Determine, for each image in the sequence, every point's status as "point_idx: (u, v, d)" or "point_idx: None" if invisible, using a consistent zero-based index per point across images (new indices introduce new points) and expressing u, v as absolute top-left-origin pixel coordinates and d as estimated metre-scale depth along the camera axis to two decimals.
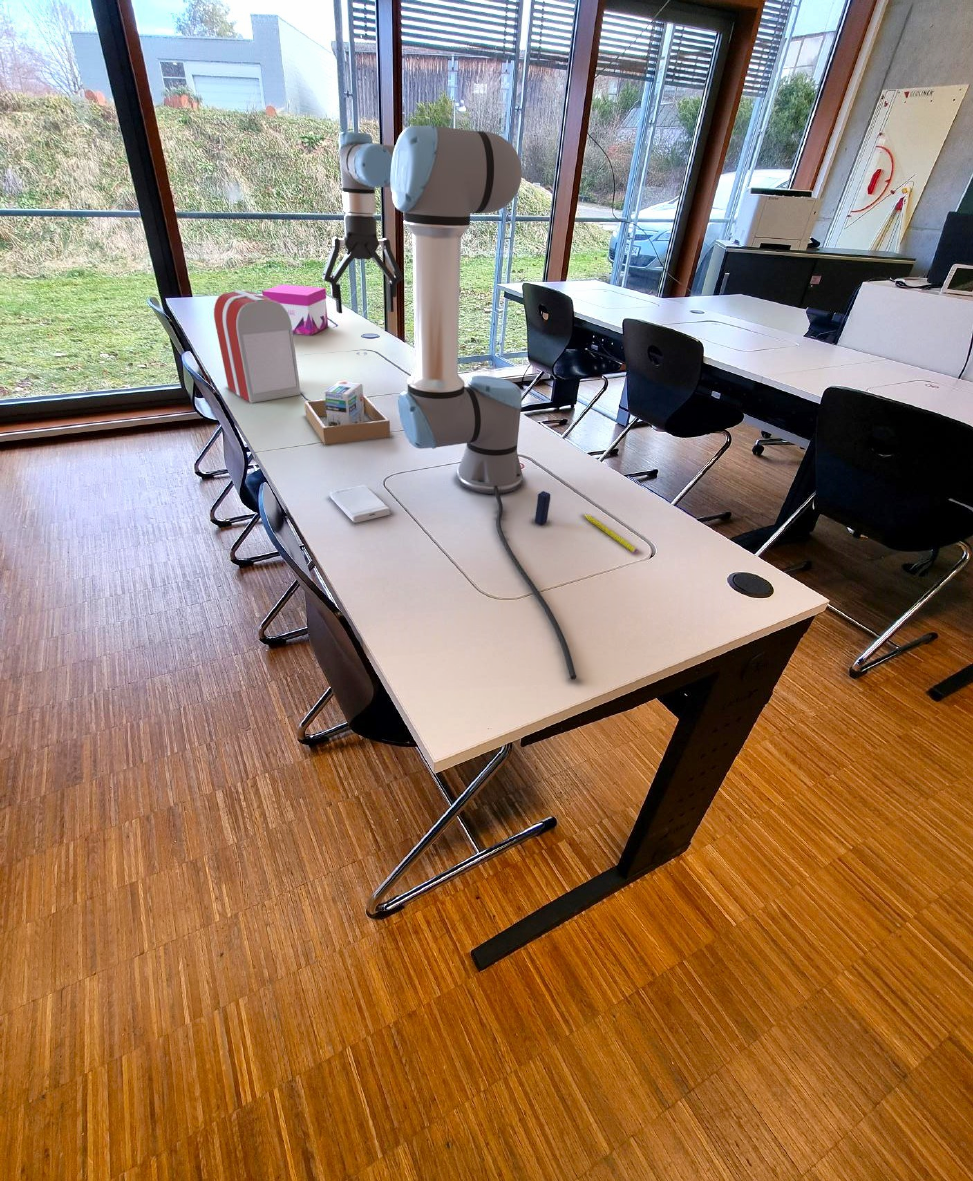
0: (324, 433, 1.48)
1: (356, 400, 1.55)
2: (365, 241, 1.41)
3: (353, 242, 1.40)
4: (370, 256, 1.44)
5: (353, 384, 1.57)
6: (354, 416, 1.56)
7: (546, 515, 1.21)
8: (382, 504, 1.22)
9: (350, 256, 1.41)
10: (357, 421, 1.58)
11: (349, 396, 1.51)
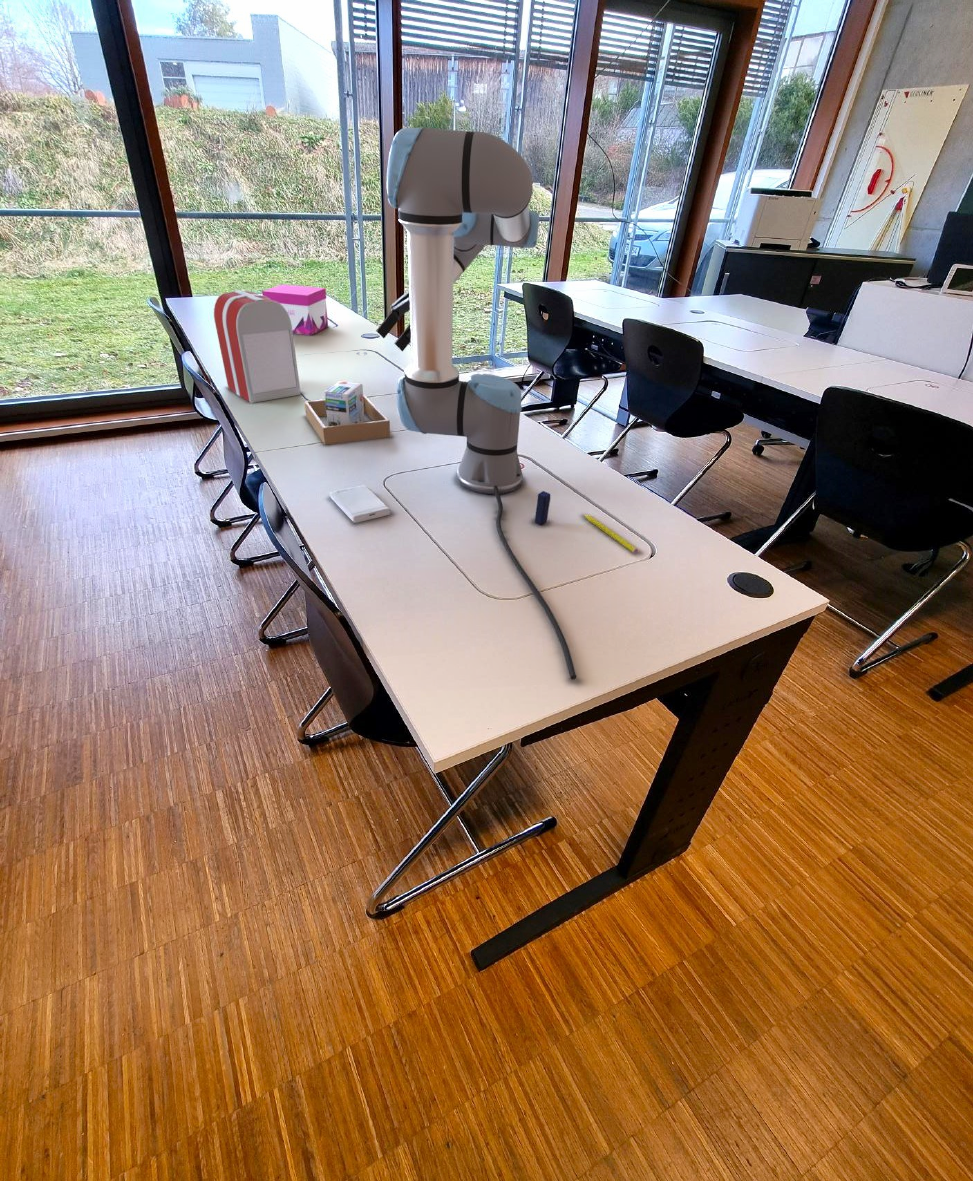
0: (324, 433, 1.48)
1: (356, 400, 1.55)
2: None
3: None
4: None
5: (353, 384, 1.57)
6: (354, 416, 1.56)
7: (546, 515, 1.21)
8: (382, 504, 1.22)
9: (410, 294, 1.52)
10: (357, 421, 1.58)
11: (349, 396, 1.51)
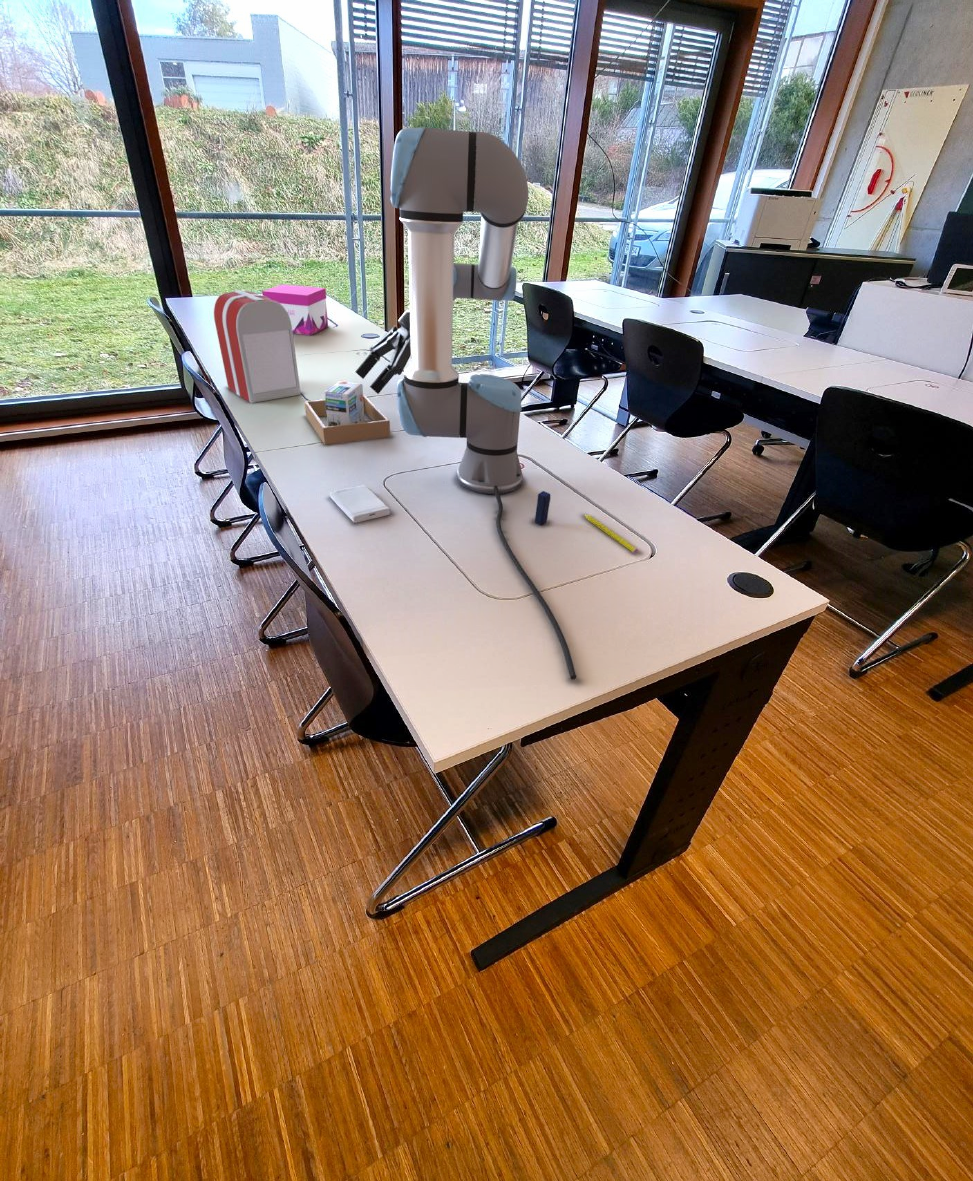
0: (324, 433, 1.48)
1: (355, 400, 1.55)
2: (402, 334, 1.53)
3: (398, 332, 1.55)
4: None
5: (353, 384, 1.57)
6: (354, 416, 1.56)
7: (546, 515, 1.21)
8: (382, 504, 1.22)
9: (388, 338, 1.56)
10: (357, 421, 1.58)
11: (349, 396, 1.51)
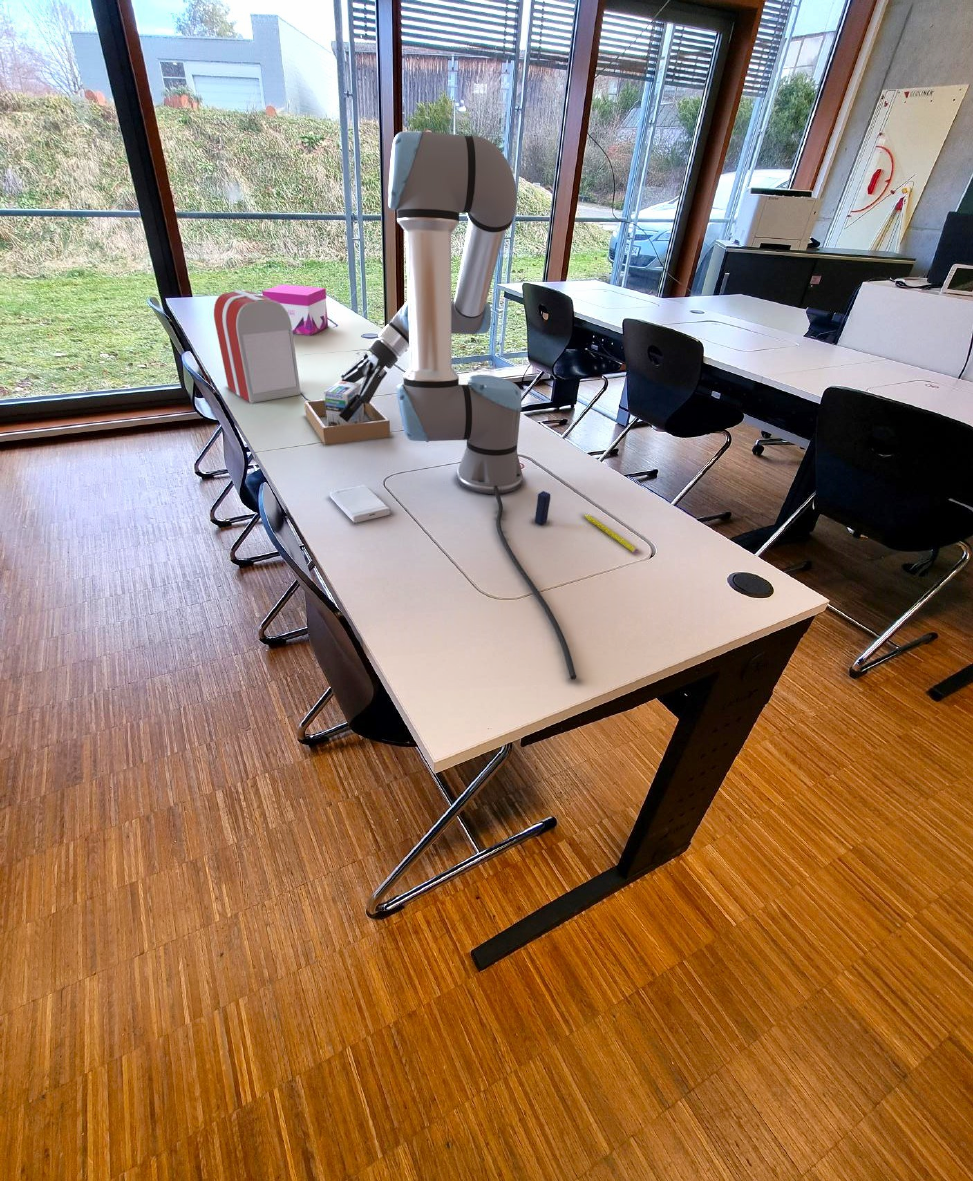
0: (324, 433, 1.48)
1: None
2: (372, 361, 1.53)
3: (368, 359, 1.55)
4: None
5: (353, 384, 1.57)
6: (354, 416, 1.56)
7: (546, 515, 1.21)
8: (382, 504, 1.22)
9: (358, 365, 1.56)
10: (357, 421, 1.58)
11: (349, 396, 1.51)
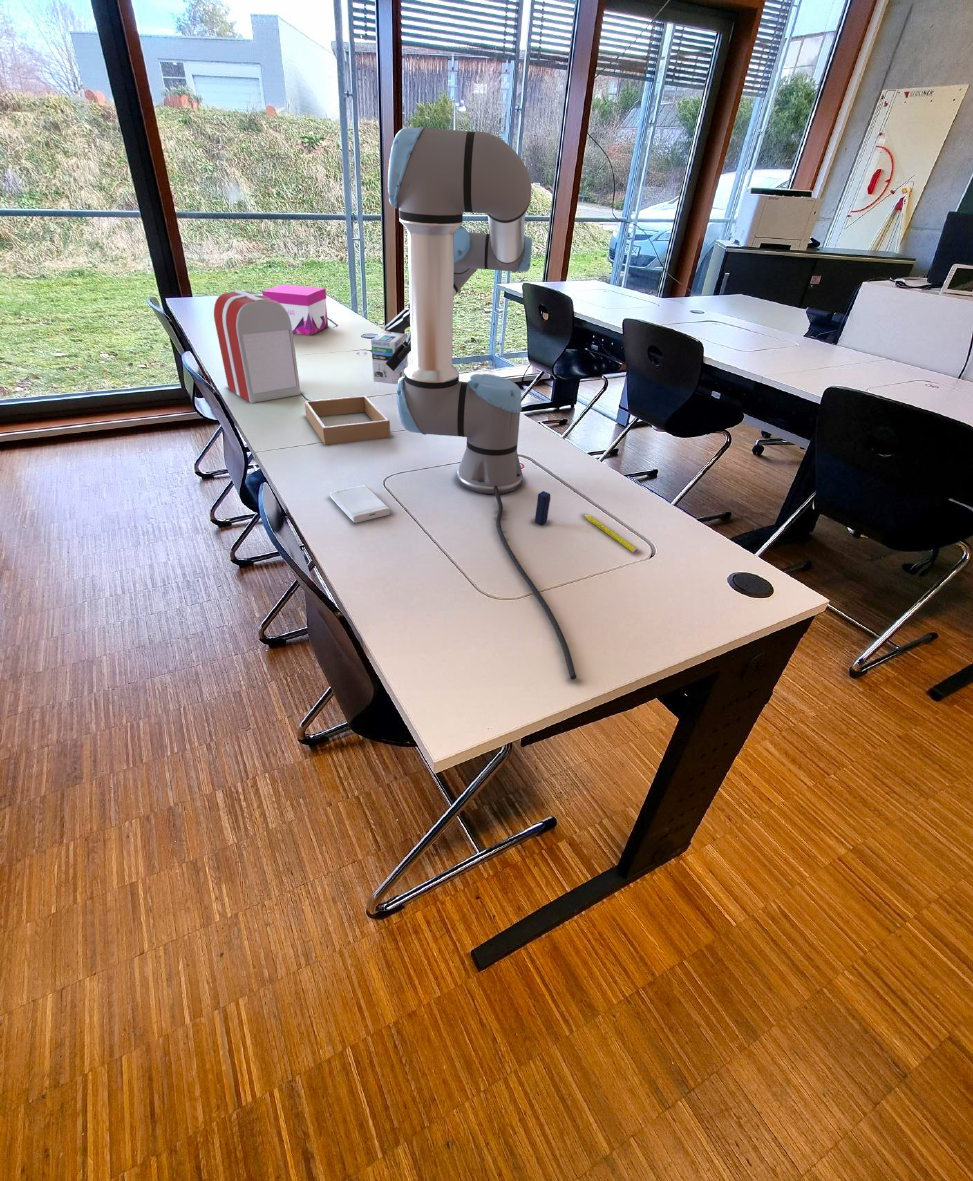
0: (324, 433, 1.48)
1: None
2: None
3: None
4: None
5: (398, 334, 1.55)
6: (400, 366, 1.54)
7: (546, 515, 1.21)
8: (382, 504, 1.22)
9: (404, 315, 1.54)
10: (402, 372, 1.56)
11: (396, 344, 1.49)
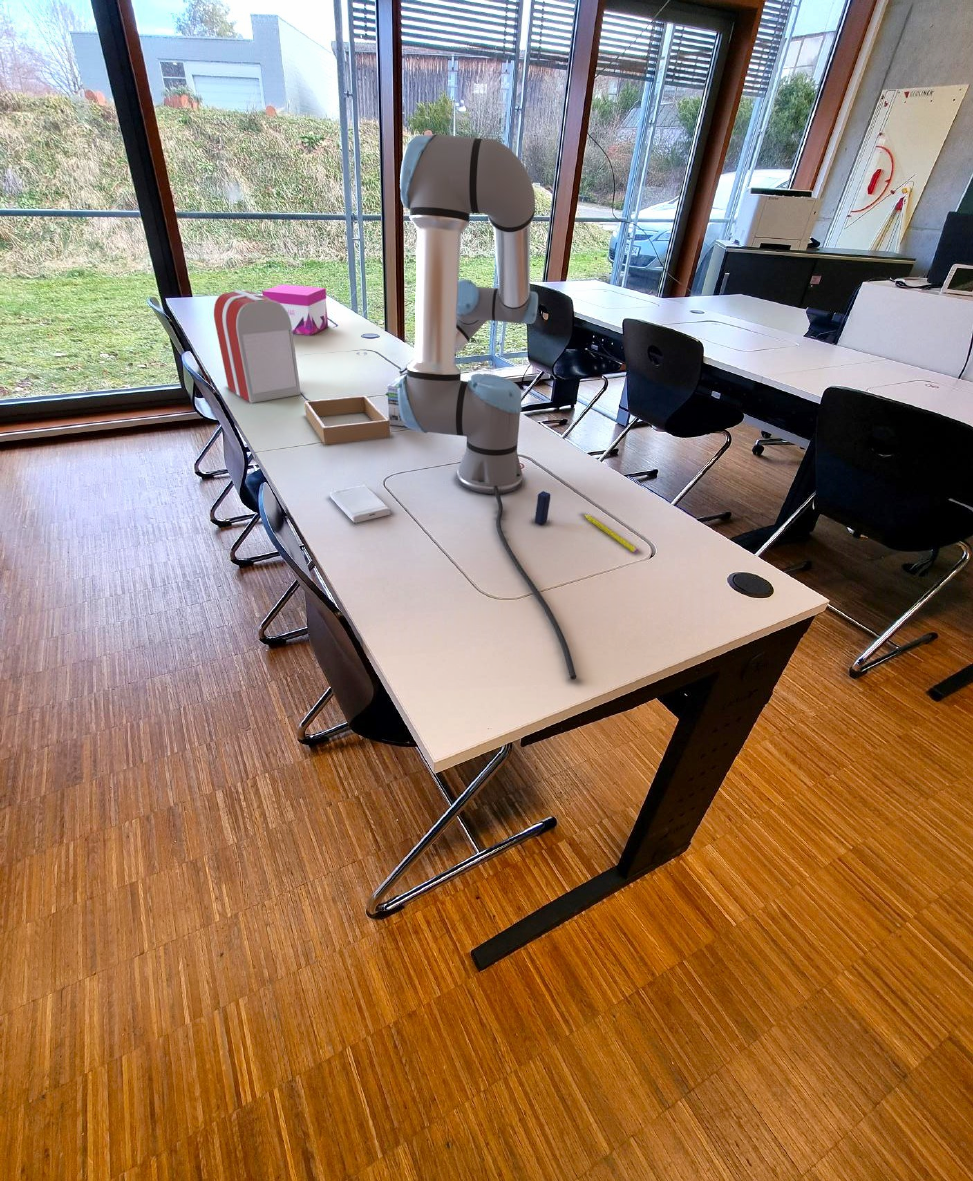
0: (324, 433, 1.48)
1: None
2: None
3: None
4: None
5: None
6: None
7: (546, 515, 1.21)
8: (382, 504, 1.22)
9: None
10: None
11: None
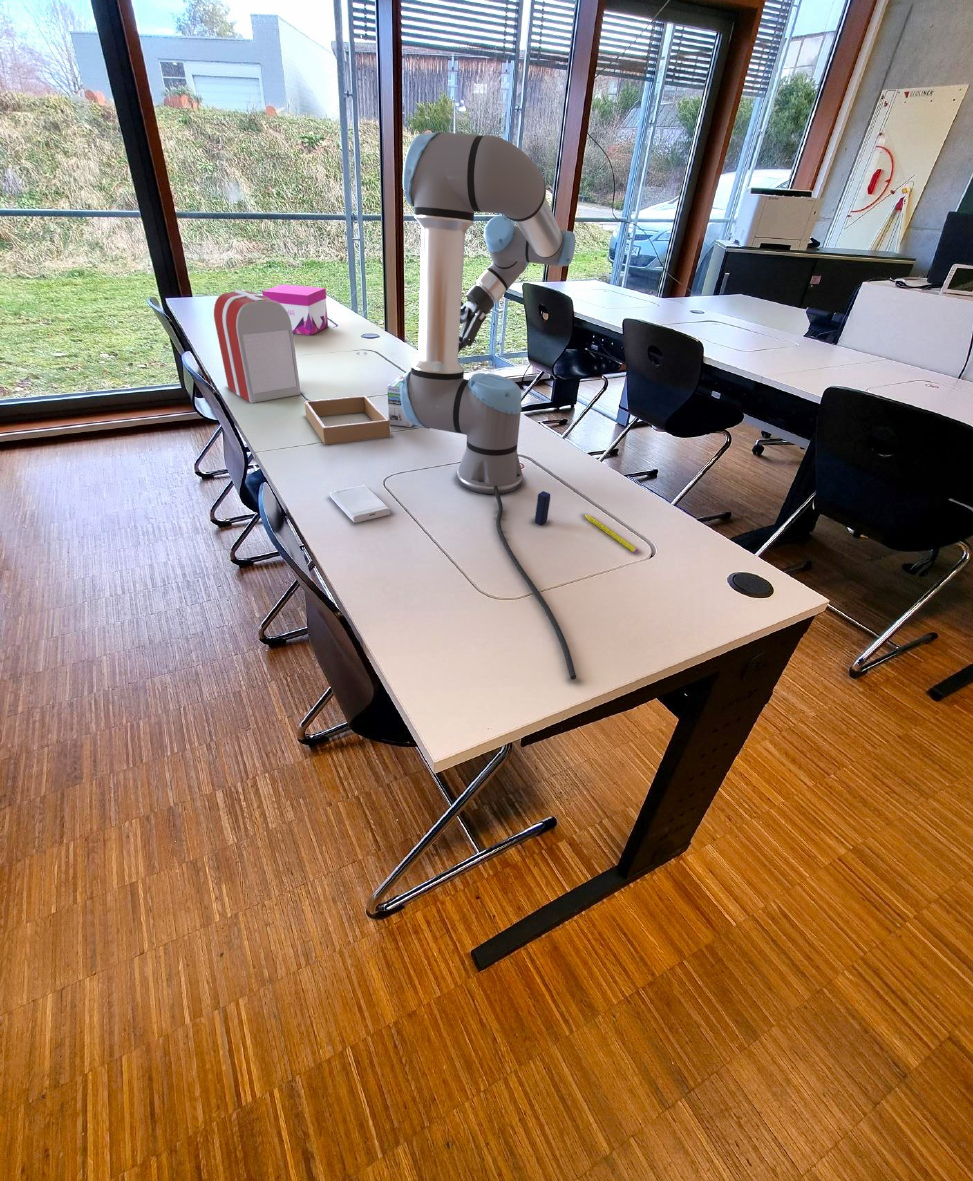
0: (324, 433, 1.48)
1: None
2: (470, 307, 1.57)
3: (465, 306, 1.59)
4: None
5: None
6: None
7: (546, 515, 1.21)
8: (382, 504, 1.22)
9: None
10: None
11: None
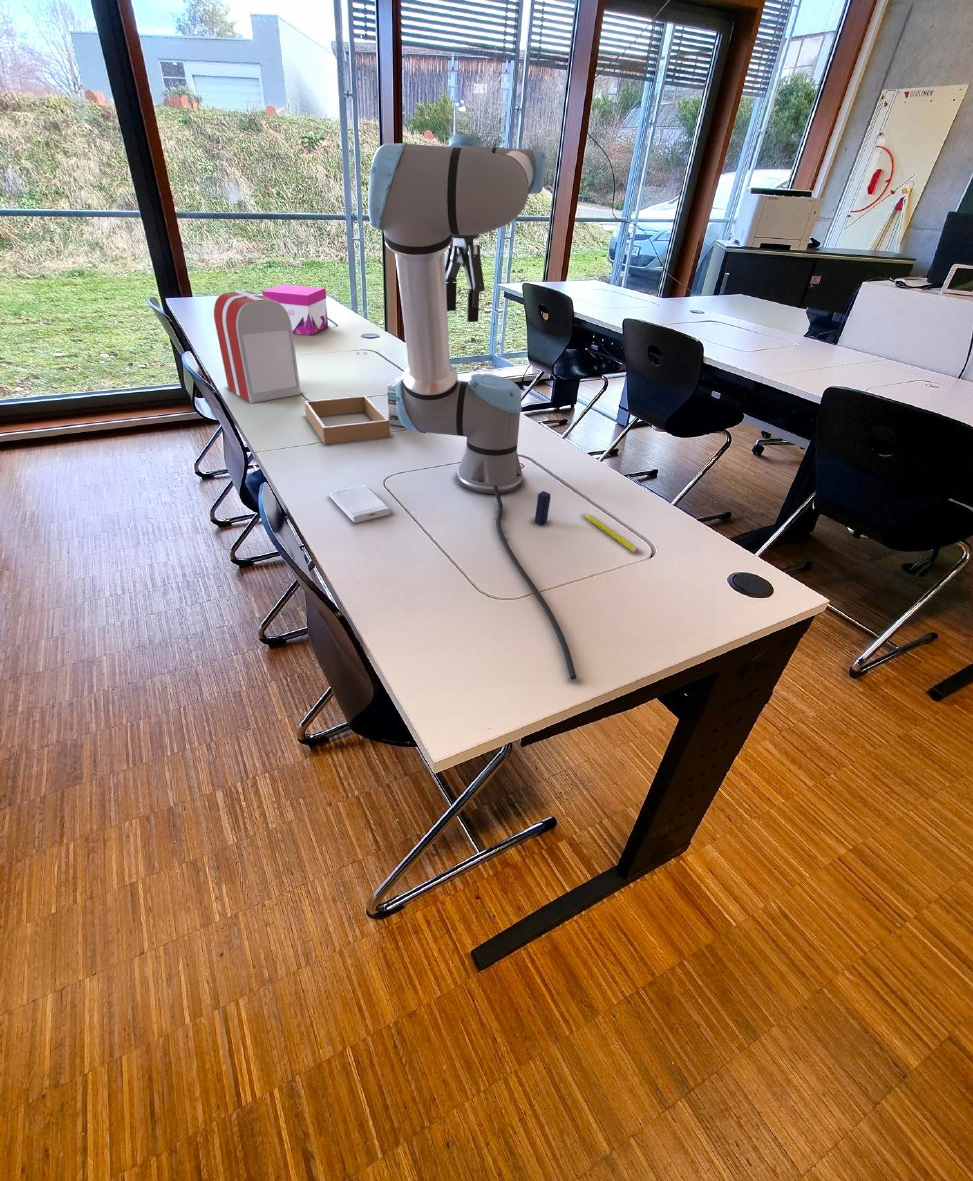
0: (324, 433, 1.48)
1: None
2: (460, 245, 1.39)
3: (455, 244, 1.42)
4: None
5: None
6: None
7: (546, 515, 1.21)
8: (382, 504, 1.22)
9: (450, 257, 1.44)
10: None
11: None
